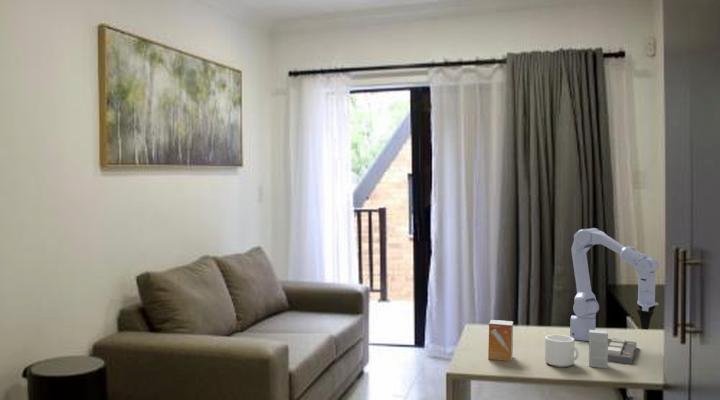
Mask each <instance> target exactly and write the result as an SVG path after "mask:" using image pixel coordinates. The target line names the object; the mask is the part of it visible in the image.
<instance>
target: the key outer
mask: <svg viewBox="0 0 720 400" xmlns="http://www.w3.org/2000/svg"><path fill="white" fill-rule="evenodd" d="M621 350H622V348H616V347H608V354H616V355H621Z"/></svg>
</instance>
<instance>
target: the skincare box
mask: <svg viewBox="0 0 720 400" xmlns="http://www.w3.org/2000/svg"><path fill="white" fill-rule="evenodd" d="M608 339H609V334H608V331H607V330H598V329H595V330H589V341H588V342H589V343H588V350H589V351H588V367H590V368H603V369H608V366H609V365H608V364H609V363H608V362H609V361H608Z"/></svg>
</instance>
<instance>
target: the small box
mask: <svg viewBox="0 0 720 400" xmlns="http://www.w3.org/2000/svg"><path fill="white" fill-rule="evenodd" d="M488 324H489V325H488V357H487V359H488V360H494V361H495V360H496V361H502V362H503V361H505V362H512V359H513V351H514V350H513V348H514V347H513V346H514V344H513V343H514V321H512V320H500V319H498V320H497V319H490V321H489V323H488Z"/></svg>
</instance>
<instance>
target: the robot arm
mask: <svg viewBox="0 0 720 400" xmlns="http://www.w3.org/2000/svg"><path fill="white" fill-rule="evenodd" d="M595 245H602V246H604V247H606V248H607V249H609V250H611V251H613V252H615V253H616V254H618V255H619V258H620V259H621V260H622V261H623V262H625V263H627V264H628V265H630V266H632V267H633V268H635V269H636V271H637V274H638V280H637V281H638V283H637V285H638V286H637V288H638V289H637V290H638V291H637V305H638V308H637V309H636V312H637V314H638V316H639V320H640V326H641V329H642V330H649V328H650V324H651V319H652V317H653V315H654V313H655V311H654V310H655V308H656V306H659V302H656V273H657V271H658V269H659V262H658V260H657V259H656V258H654V257H653V256H647V254H646V253H641V252H640V251H638V250H636V249H637V247H635V246H630V245H628V246H625V245H622V244H621V243H619V241H617V240H615V239H614V238H612V237H610V236H608V235H607V234H606V233H605V232H604V231H602V230H600V229H598V228H596V227H591V228H581V229H579V230H578V231H576V232H575V233H574V235H573V242H572V245H571V259H572V264H573V271H574V278H575V279H574V281H575V286H576V287H575V288H576V295H575V296H574V300H573V301H574V303H573V307H572V309H573V313H574V314H575V315H573V314H572V315H571V316H570V323H569V325H570V327H569V336H570V337H572V338H574V341H575V340H576V341H577V340H579V341H582V342H584V341H585V342H589V330H596V319H597V318H596V315H597V313H598V312H599V310H600V305H599V302H598V300H597V299H596V295H595V294H594V292H593V291H592V286H591V278H590V272H589V271H590V270H589V264H588V257H587V253H588V251H589V250H590V249H591V248H592V247H593V246H595Z"/></svg>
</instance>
